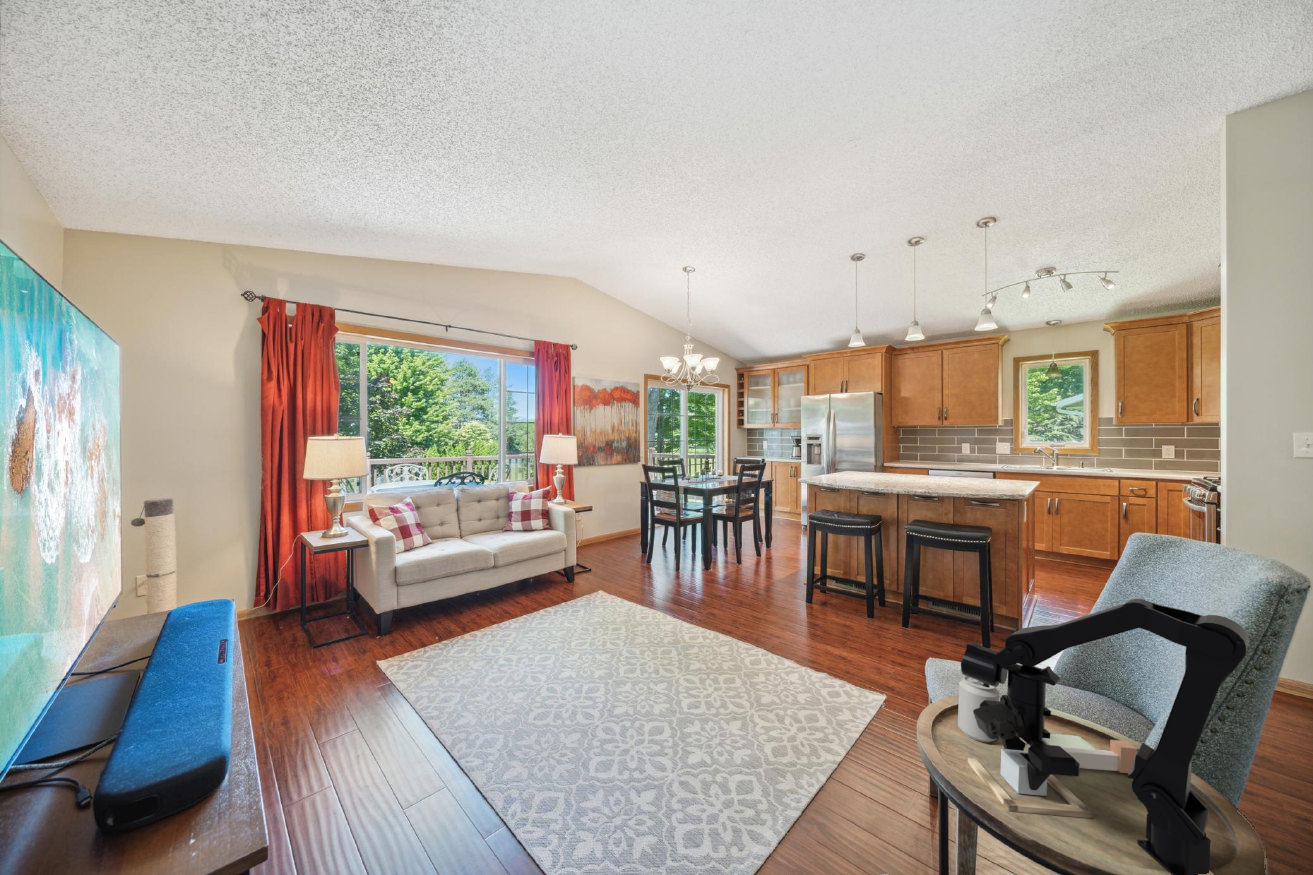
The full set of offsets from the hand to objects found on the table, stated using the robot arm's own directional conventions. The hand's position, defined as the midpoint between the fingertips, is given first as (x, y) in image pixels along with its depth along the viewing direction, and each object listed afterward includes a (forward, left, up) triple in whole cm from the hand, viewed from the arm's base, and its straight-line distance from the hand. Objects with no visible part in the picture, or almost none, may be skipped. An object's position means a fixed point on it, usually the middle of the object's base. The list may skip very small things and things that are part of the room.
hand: (1023, 779), depth 90 cm
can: (+16, -1, -1) cm, 16 cm away
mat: (+13, -19, -1) cm, 23 cm away
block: (0, 0, -1) cm, 1 cm away
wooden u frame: (0, 0, -1) cm, 1 cm away
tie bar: (+7, -15, -1) cm, 16 cm away
